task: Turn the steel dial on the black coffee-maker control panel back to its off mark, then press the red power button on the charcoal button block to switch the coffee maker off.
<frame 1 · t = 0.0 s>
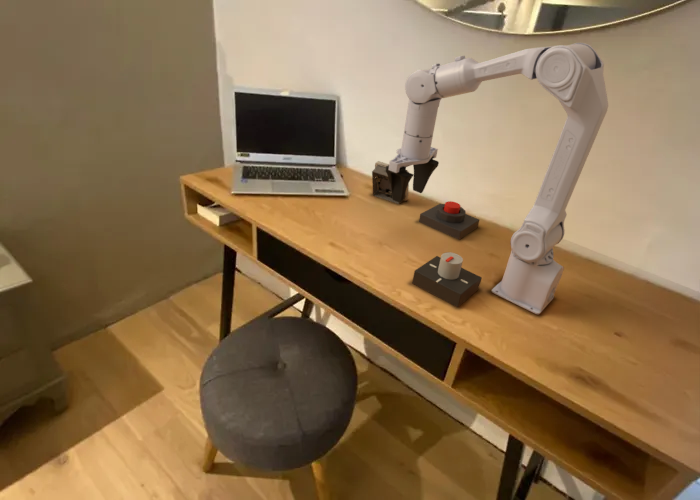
hand: (407, 196, 100), 10 cm above the table, tool pointing down, fingers open, 7 cm apart
power button: (452, 208, 110), point 4 cm above the table, slide at 0.1 cm
dial panel: (445, 286, 90), on the table
button block: (448, 224, 113), on the table
electrical switch: (388, 199, 122), on the table
dial: (450, 265, 88), point 5 cm above the table, hinge at 90.0°
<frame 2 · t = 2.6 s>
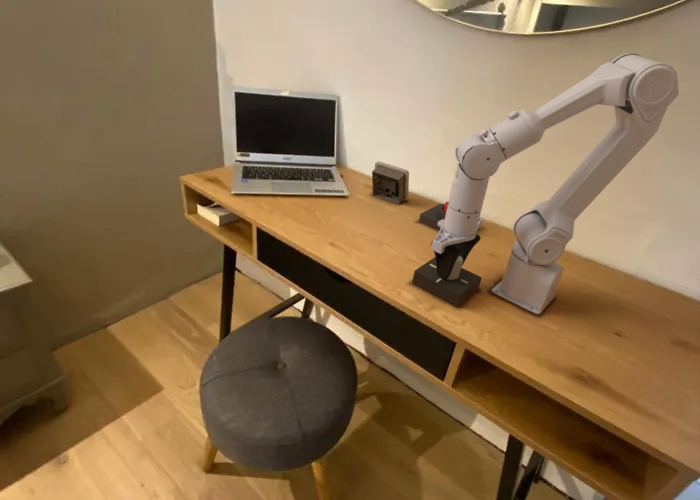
hand: (448, 271, 89), 4 cm above the table, tool pointing down, fingers closed on dial, 4 cm apart
dial: (450, 265, 88), point 5 cm above the table, hinge at 89.9°, touching gripper
everything else where it was.
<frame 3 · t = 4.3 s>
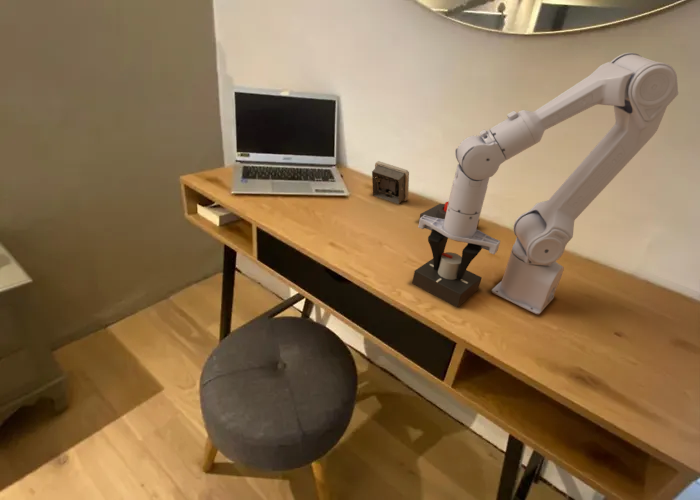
hand: (448, 272, 89), 3 cm above the table, tool pointing down, fingers closed on dial, 4 cm apart
dial: (450, 265, 88), point 5 cm above the table, hinge at 8.6°, touching gripper
everything else where it was.
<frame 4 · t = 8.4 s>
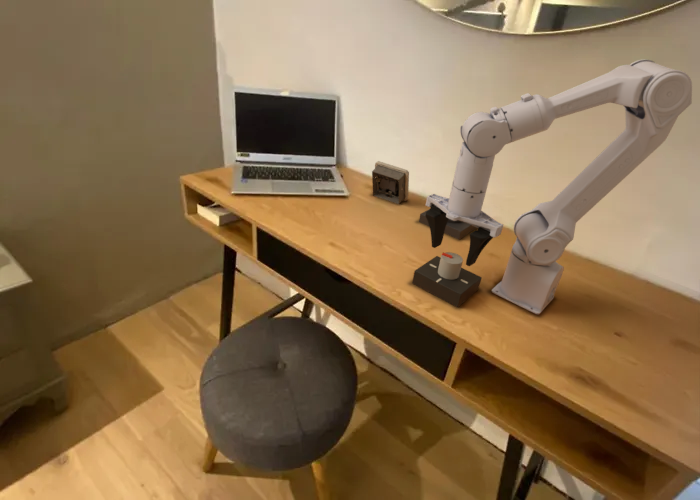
hand: (452, 254, 87), 7 cm above the table, tool pointing down, fingers open, 7 cm apart
dial: (450, 265, 88), point 5 cm above the table, hinge at 8.6°
everything else where it was.
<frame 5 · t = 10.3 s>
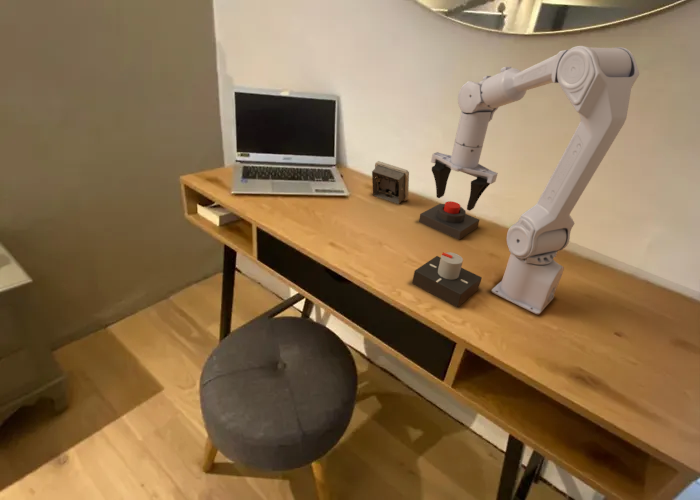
hand: (454, 202, 104), 8 cm above the table, tool pointing down, fingers open, 7 cm apart
nothing on the table moved.
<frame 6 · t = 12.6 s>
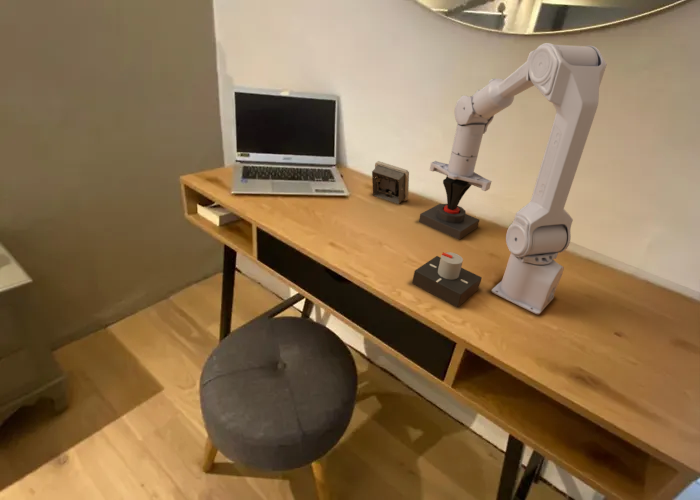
hand: (451, 208, 110), 4 cm above the table, tool pointing down, fingers closed, pressing on power button
power button: (451, 211, 111), point 4 cm above the table, slide at -0.8 cm, touching gripper
everything else where it was.
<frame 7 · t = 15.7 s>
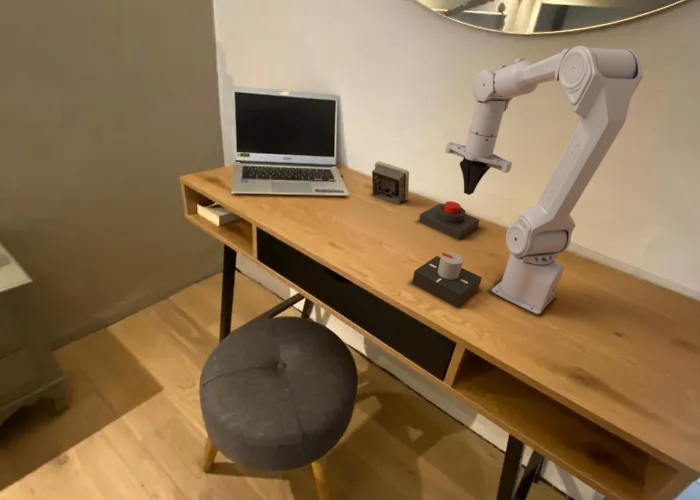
hand: (468, 192, 104), 10 cm above the table, tool pointing down, fingers closed
power button: (452, 208, 110), point 4 cm above the table, slide at 0.1 cm
everything else where it was.
at the end: dial at +9° (first picture: +90°); power button pushed in 1.2 cm at the most during the clip, back to where it started at the end; power button slide at 0.1 cm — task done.
